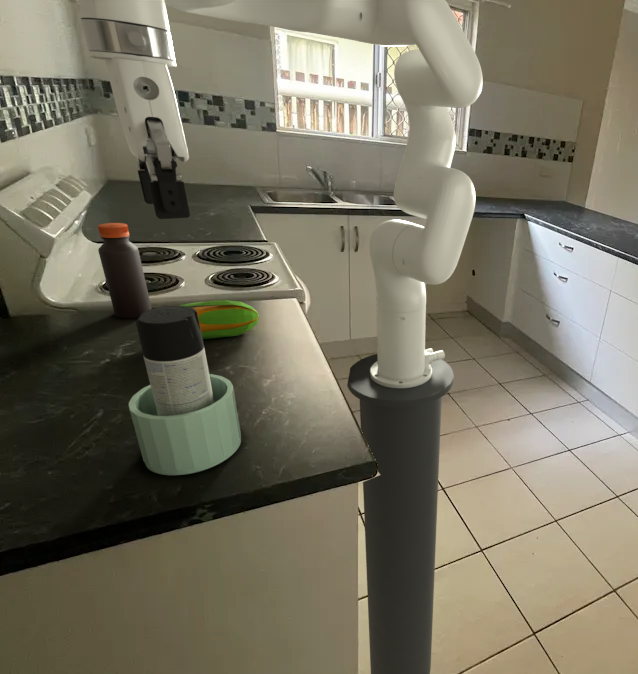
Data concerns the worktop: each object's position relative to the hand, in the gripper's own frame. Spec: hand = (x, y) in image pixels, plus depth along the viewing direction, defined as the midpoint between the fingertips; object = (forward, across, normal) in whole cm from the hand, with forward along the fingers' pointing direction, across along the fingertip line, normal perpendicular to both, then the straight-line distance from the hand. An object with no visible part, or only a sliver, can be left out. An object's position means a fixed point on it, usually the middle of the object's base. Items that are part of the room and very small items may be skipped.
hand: (166, 210), depth 58 cm
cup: (+33, -2, +3) cm, 33 cm away
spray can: (+33, -2, +3) cm, 33 cm away
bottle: (+34, +58, +4) cm, 67 cm away
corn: (+34, +38, -6) cm, 51 cm away
